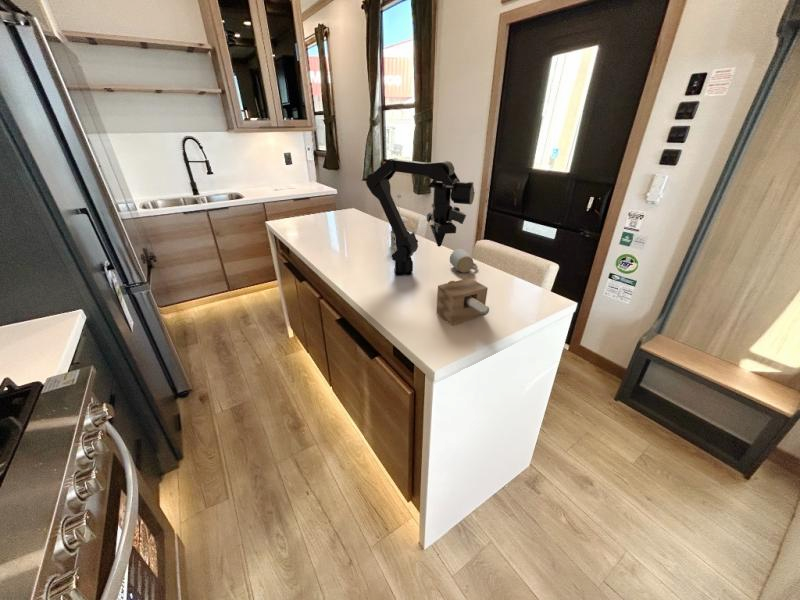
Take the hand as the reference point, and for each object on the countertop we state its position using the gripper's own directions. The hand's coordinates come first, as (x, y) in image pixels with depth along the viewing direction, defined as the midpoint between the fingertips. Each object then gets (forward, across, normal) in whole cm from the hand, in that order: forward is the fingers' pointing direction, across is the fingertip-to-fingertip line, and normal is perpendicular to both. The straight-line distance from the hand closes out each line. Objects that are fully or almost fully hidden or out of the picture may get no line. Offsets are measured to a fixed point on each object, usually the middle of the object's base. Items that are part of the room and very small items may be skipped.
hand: (439, 246), depth 115 cm
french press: (+13, +38, +10) cm, 41 cm away
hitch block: (+13, -27, -1) cm, 30 cm away
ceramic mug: (+13, +8, -13) cm, 20 cm away
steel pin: (+9, -29, -2) cm, 31 cm away
